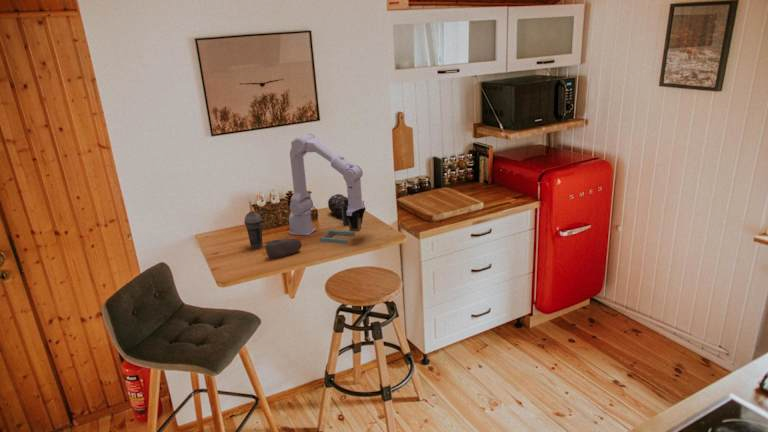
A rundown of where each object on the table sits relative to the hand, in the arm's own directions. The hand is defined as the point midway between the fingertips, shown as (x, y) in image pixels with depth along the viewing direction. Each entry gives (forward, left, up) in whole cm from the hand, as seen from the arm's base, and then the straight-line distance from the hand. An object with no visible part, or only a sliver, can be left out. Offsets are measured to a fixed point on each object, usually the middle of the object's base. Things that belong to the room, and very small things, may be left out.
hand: (356, 226), depth 221 cm
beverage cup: (-39, -16, -6) cm, 43 cm away
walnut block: (-1, 0, -2) cm, 2 cm away
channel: (-9, 0, -6) cm, 11 cm away
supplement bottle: (-11, +19, -6) cm, 23 cm away
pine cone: (-19, +28, -6) cm, 35 cm away
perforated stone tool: (-23, -21, -6) cm, 32 cm away
